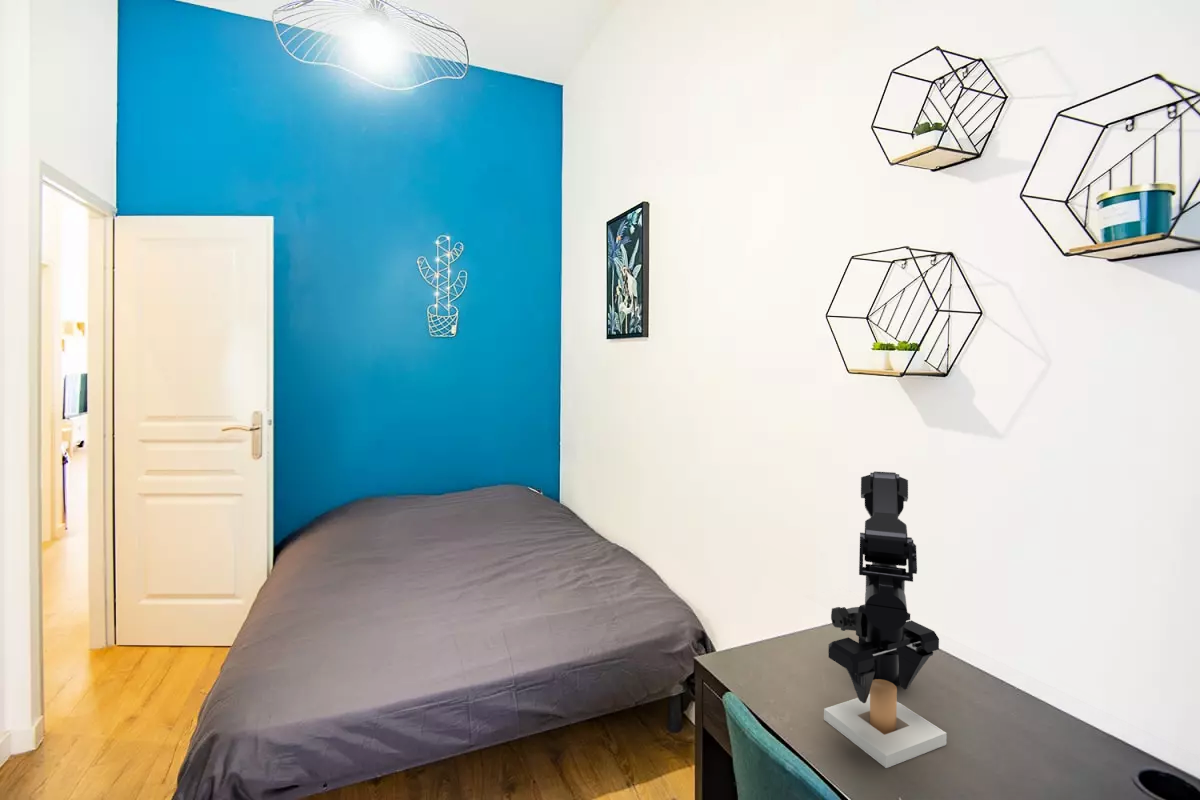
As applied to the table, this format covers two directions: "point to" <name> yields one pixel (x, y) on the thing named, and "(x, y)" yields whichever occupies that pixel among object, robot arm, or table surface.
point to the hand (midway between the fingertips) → (883, 694)
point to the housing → (890, 747)
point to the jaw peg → (883, 706)
